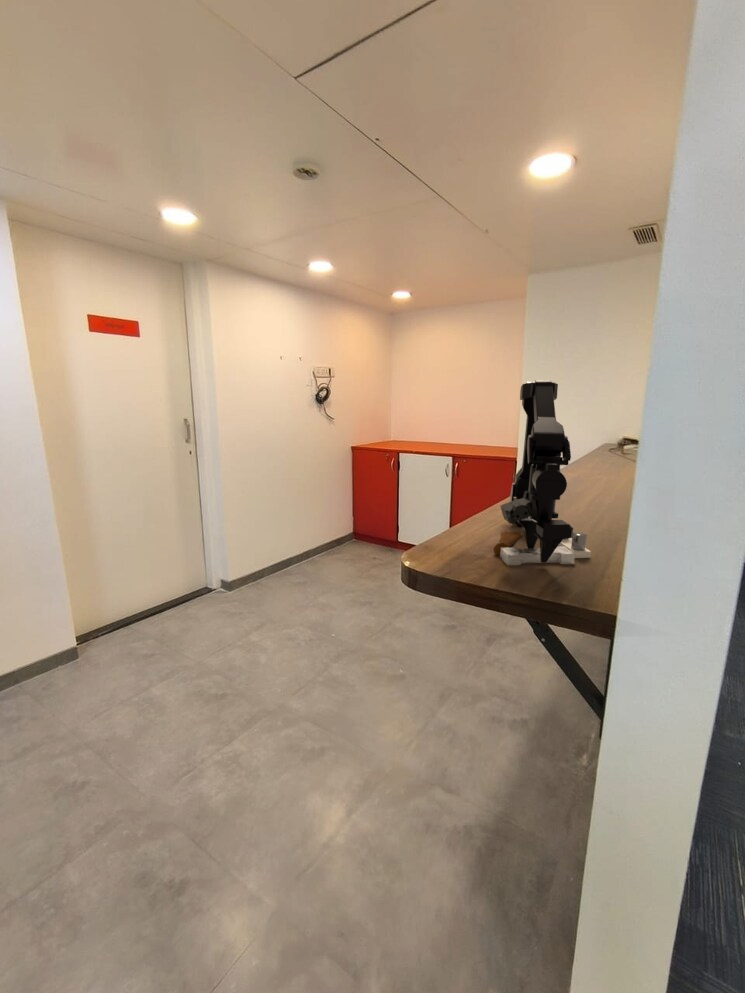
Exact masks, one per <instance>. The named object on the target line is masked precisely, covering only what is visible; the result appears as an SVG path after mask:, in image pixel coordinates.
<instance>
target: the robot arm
mask: <svg viewBox="0 0 745 993" xmlns="http://www.w3.org/2000/svg"><path fill="white" fill-rule="evenodd" d="M558 387H559V384H558V383H556V382H555V381H554V380H551V379H543V380H542V379H537V380H533V381H526V382H525V383H522V384H521V386H520V392H519V401H521V406H522V408H523V410H524V413H525V414H526V420H525V421H526V422H525V430H524V431H525V432H524V433H525V434H524V443H523V454H522V455H523V456H522V463H521V467H520V469H519V470H518V471H517V473H516V474H515V475H514V482H512V483H511V488H510V496H509V498H510V499H509V500H510V501H509V502H506V503H503V504H501V505H500V510H501V514H502V516H503V519H504V520H505V521H506V522H507V523H508V524H512V525H513V524H514V526H516V527H519V528H521V527H522V529H523V534H524V540H525V544H526V549H535V546H536V544H537V541H538V540H539V548H540V558H541V562H542V563H543V564H545V562H547V561H548V559H549V558H550V556H551V555H552V553H553V552H554V550H555V549H556V548H557V547H558V545H559V544H560V543H561V541H562V540H563V539H566V538H571V539H572V536H573V533H574V527H572V526H571V524H570V523H568V522H566V521H564V520H563V519H558V518H559V513H557V512H556V502H557V501H560V500H561V496H562V495H563V494H564V493H565V492H566V490H567V487H568V482H567V479H566V477H565V475H564V474H563V473H562V472H561V466H569V461H571V458H572V455H571V453H572V452H571V445H570V444H571V443H570V440H569V437H568V436H567V435H565V429H564V426H563V425H562V424H561V422H558V421H557V418H556V409H555V401H556V400H557V399H558ZM569 524H570V525H569ZM542 563H541V564H542Z"/></svg>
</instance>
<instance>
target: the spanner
mask: <svg viewBox="0 0 745 993" xmlns="http://www.w3.org/2000/svg"><path fill="white" fill-rule="evenodd" d="M500 557H501V558H502V559H501V558H500ZM499 558H500V559H501V560H502V561H503V562H504V563H505V564H506V565H507V566H521V565H522V564H537V563H538V564H539V563H540V564H542V562H541V558H540V547H538V548H534V549H527V548H515V547H512V546H511V547H510V548H501V551H500V556H499ZM575 559H576V558H575V553H573V552H572V551H570V550H569V549H567V548H566V547H565V546H562V547H558V546H557V548H556V549H555V550H554V552H553V553H552V555H551V556H550V558H549V559H548V561H547V562H545V563H547V564H548V563H549V564H550V563H551V564H553V563H558V564H560V565H574V564H575ZM545 563H544V564H545Z"/></svg>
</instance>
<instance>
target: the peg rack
mask: <svg viewBox="0 0 745 993" xmlns="http://www.w3.org/2000/svg"><path fill="white" fill-rule="evenodd" d="M568 524H569V525H570V526H571V524H570V523H568ZM587 536H588V535H587V534H586V533H584V532H578V531H577V532H576V531H575V532H574V531H573V536H572V538H566V539H563V540H562V541H561V543H560V544H559V545H558V546H557V547H562V546H565V547H566V548H567V549H569V550H570V551H572V552H573V553H575V558H574V559H586V558H587V559H590V558H591V553H592V551H591V550H589V549H588V548H586V545H587Z"/></svg>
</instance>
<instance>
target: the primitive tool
mask: <svg viewBox="0 0 745 993" xmlns="http://www.w3.org/2000/svg"><path fill="white" fill-rule="evenodd" d="M500 536H501V537H500V539H499V543H497V544H495V545H494V547H493V554H494V555H495V556H497V555H498V556H497V557H500V551H501V548H512V546H513V545H514V543H516V542H517V541H518V540H520V538H522V537H523V534H522V533H521V532H518V531H516V532H515V531H514V532H511V531H510V532H509V531H501V533H500Z"/></svg>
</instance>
